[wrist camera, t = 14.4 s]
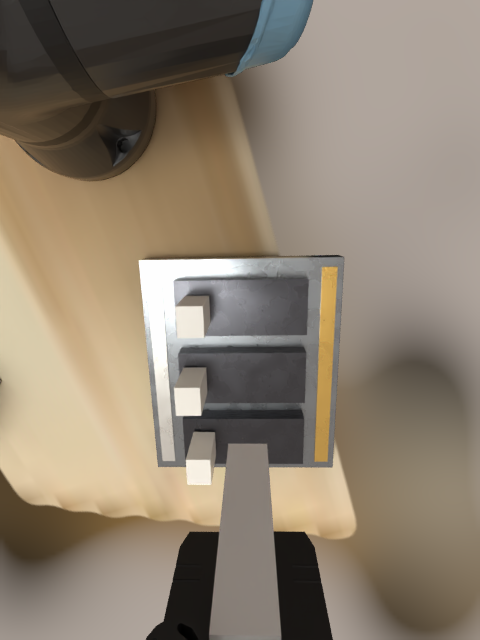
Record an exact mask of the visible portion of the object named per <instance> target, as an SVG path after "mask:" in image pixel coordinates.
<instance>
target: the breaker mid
mask: <svg viewBox="0 0 480 640" xmlns="http://www.w3.org/2000/svg"><path fill="white" fill-rule="evenodd" d="M174 396H175V409H176V416H201V415H202V411H203V408H204V404H205V400H206V396H207V372H206V367H201V368H183V370H182V372H181V374H180V376H179V378H178V380H177V382H176V385H175V387H174Z"/></svg>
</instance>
